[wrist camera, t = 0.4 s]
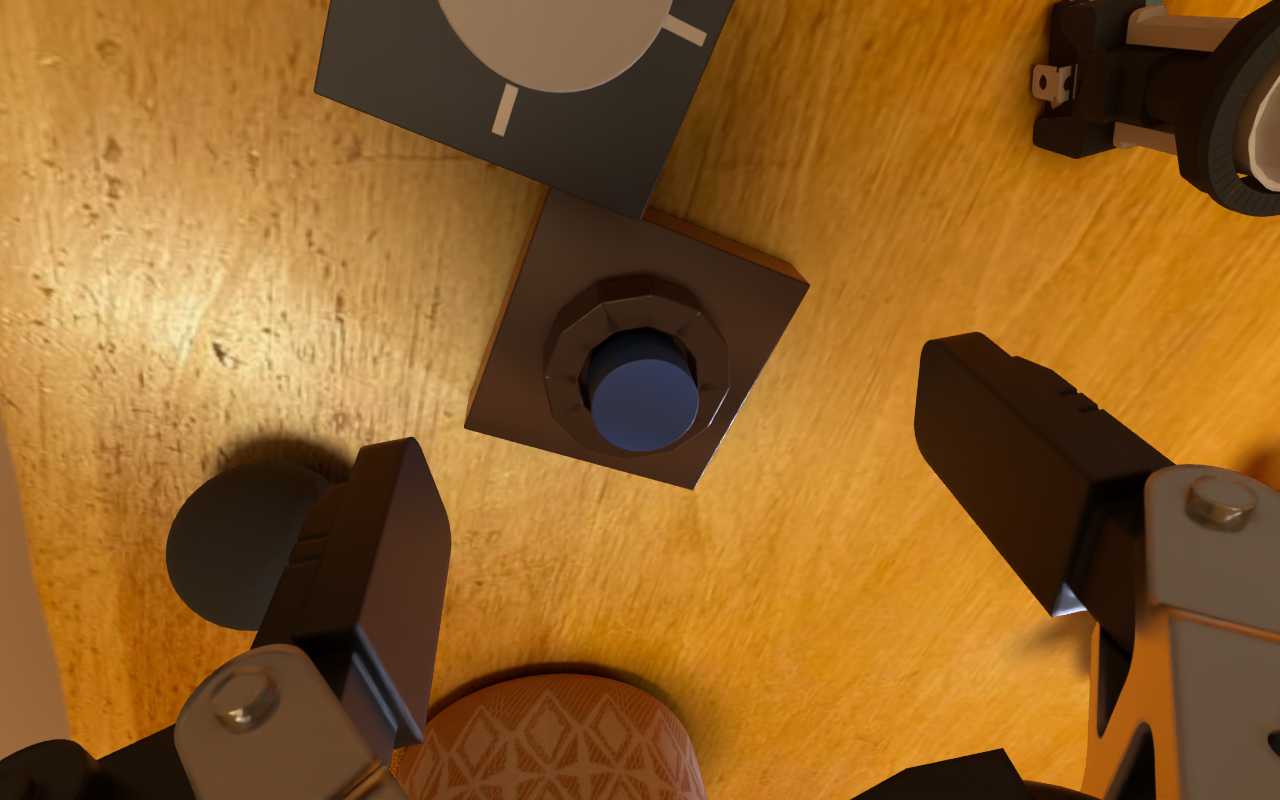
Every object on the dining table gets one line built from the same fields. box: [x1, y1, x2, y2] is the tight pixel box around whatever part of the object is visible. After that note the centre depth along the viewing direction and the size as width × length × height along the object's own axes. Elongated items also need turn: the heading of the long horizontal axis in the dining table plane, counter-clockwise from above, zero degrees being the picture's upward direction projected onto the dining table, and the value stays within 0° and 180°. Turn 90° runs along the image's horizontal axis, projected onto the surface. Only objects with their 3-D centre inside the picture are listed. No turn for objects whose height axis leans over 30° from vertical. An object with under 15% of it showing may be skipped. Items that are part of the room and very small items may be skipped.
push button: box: [1032, 0, 1280, 217], centre depth 19 cm, size 7×5×10 cm
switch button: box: [587, 332, 699, 451], centre depth 23 cm, size 4×4×2 cm
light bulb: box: [166, 461, 332, 631], centre depth 27 cm, size 6×6×10 cm
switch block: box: [464, 184, 810, 490], centre depth 26 cm, size 10×10×4 cm
